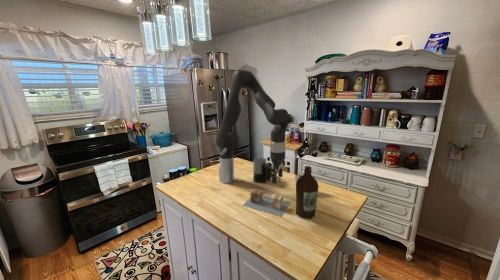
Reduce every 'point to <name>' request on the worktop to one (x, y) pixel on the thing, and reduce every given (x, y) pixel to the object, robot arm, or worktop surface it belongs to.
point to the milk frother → (261, 170)
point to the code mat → (266, 206)
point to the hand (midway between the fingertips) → (277, 179)
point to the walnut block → (256, 196)
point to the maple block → (276, 201)
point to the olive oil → (306, 194)
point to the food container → (298, 177)
